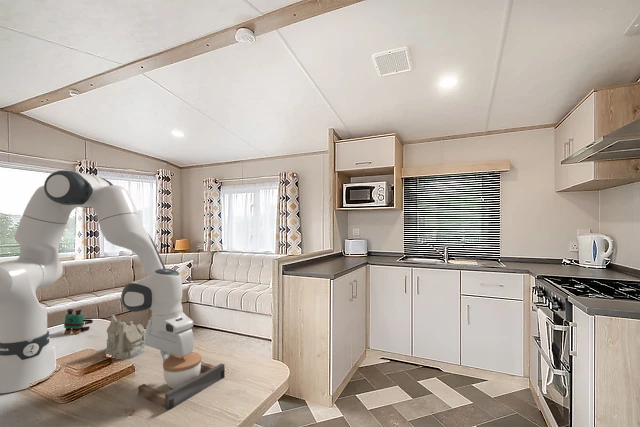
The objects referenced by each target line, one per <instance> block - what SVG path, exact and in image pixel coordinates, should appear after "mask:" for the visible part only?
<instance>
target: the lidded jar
mask: <svg viewBox="0 0 640 427" xmlns="http://www.w3.org/2000/svg"><path fill="white" fill-rule="evenodd" d="M201 361H202V355H201V354H200V353H199V352H193V351H192V353H191V354H189V355H187V356H185V357H180V356H177V355H174V356H171V357H169V358H168V359H166V360H165V361H164V363H163V362H162V368H163V370H162V371H163V377H164V381H165V383H166V384H167V386H168V387H169V388H171V390H173V389H174V388H176V387H178V386H180V385H182V384H184V383H186V382H188V381H189V380H191V379H193V378H195V377H197V376H199V375H201V374H200V373H201V372H200V370H201Z"/></svg>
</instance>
